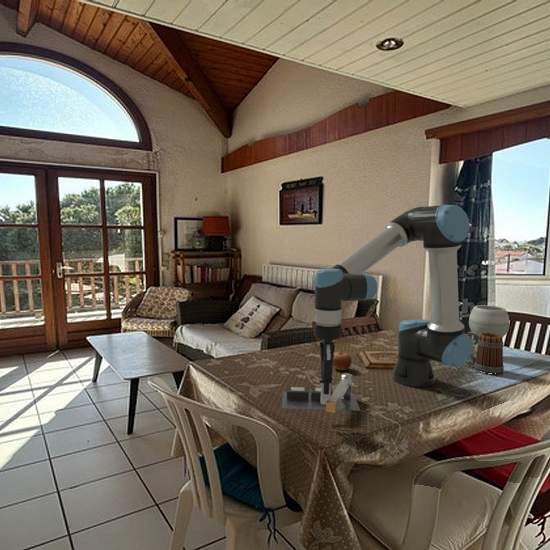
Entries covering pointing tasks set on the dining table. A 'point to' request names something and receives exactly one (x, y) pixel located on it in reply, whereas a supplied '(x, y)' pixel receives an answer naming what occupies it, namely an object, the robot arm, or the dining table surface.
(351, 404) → the chassis
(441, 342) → the robot arm
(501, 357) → the mug
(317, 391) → the power supply
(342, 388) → the cable arm
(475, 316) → the planter
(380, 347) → the dining table surface
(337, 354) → the apple
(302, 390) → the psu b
